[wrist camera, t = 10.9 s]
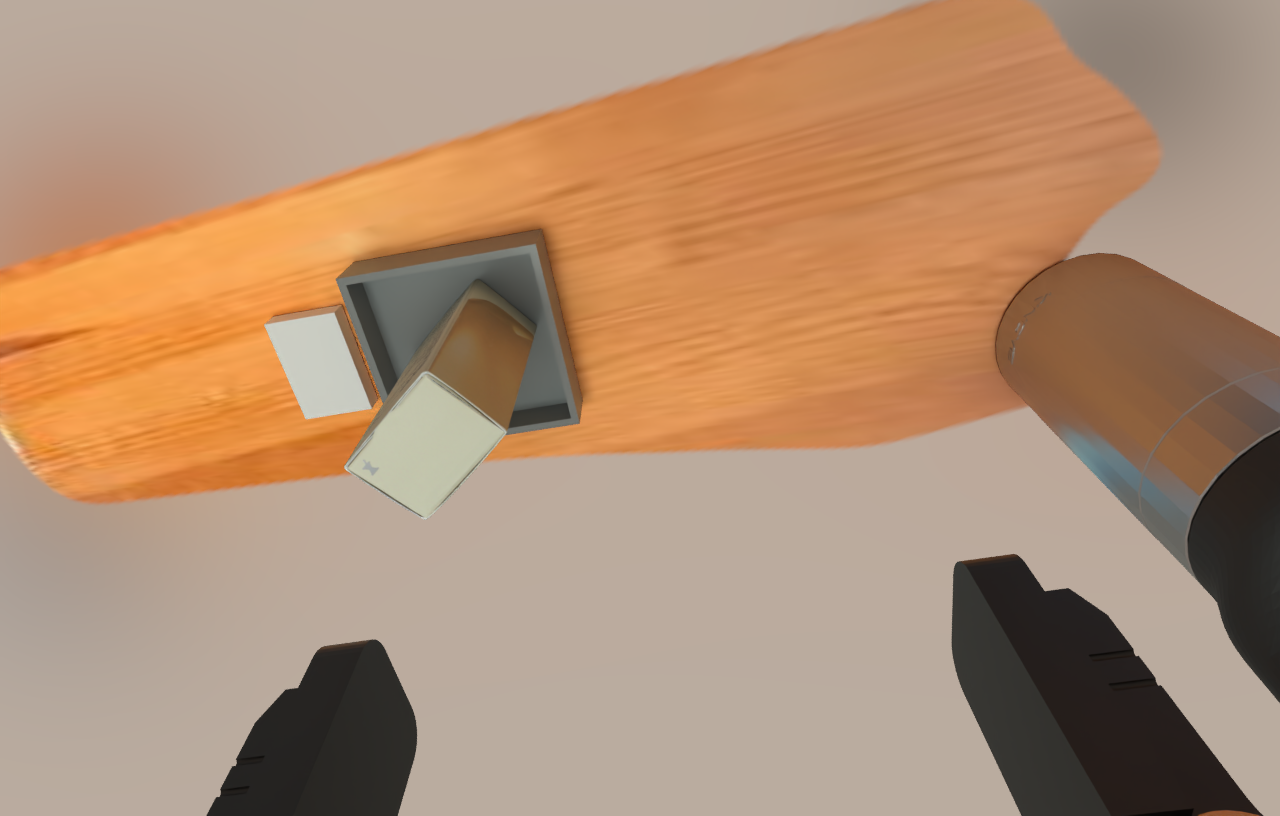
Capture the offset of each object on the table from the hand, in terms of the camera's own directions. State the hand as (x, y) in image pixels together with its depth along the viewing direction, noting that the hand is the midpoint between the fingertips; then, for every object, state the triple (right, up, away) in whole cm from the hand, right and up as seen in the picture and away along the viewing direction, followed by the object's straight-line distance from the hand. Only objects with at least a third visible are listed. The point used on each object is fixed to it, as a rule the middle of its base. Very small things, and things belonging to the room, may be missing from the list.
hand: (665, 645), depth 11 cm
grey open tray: (-13, +7, +33) cm, 36 cm away
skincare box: (-9, +7, +32) cm, 34 cm away
